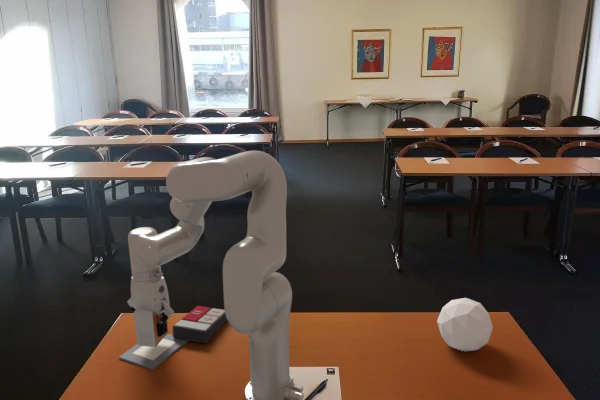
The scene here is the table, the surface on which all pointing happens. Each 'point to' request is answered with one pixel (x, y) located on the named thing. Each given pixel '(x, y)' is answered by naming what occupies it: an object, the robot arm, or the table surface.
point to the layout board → (153, 352)
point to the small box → (147, 328)
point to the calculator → (199, 324)
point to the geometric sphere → (465, 324)
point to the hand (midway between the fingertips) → (152, 330)
